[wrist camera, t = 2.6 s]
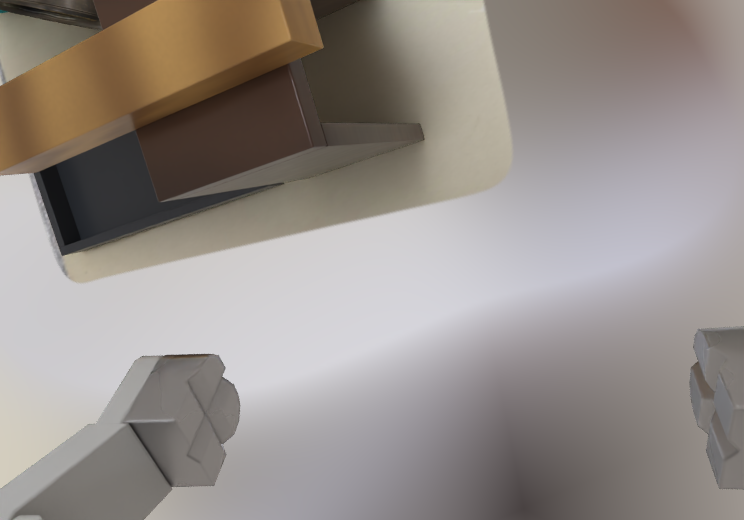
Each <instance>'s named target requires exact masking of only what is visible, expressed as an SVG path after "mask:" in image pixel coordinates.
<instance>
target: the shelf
mask: <svg viewBox="0 0 744 520" xmlns="http://www.w3.org/2000/svg"><path fill="white" fill-rule="evenodd" d="M156 1H157V0H93V2H94V5H95V8H96V11H97V14H98V17H99V21H100V24H101V27H102V30H104V29H106V28H108V27H110V26H112V25H113V24H115V23H117V22H119V21H121V20H123V19H124V18H126V17H128V16H130V15H132V14H134V13H135V12H137V11H139V10H141V9H143V8H145V7H146V6H148V5H150V4H152V3H154V2H156ZM357 1H359V0H310V2H311V6H312V9H313V12H314V16H315V19H316V20H317V19H320V18H322V17H324V16H326V15H328V14H330V13H333V12H335V11H337V10H339V9H341V8H344V7H346V6H348V5H350V4H352V3H354V2H357ZM135 131H136V134H137V137H138V140H139V143H140V146H141V150H142V153H143V156H144V159H145V162H146V165H147V168H148V171H149V174H150V177H151V180H152V183H153V186H154V189H155V193H156V196H157V199H158V201H159V202H165V201H171V200H177V199H184V198H190V197H196V196H202V195H209V194H215V193H221V192H227V191H233V190H239V189H245V188H252V187H258V186H264V185H270V184H276V183H282V182H288V181H295V180H301V179H307V178H311V177H314V176H317V175H320V174H323V173H326V172H329V171H332V170H335V169H338V168H341V167H344V166H347V165H350V164H353V163H356V162H359V161H362V160H365V159H368V158H371V157H374V156H377V155H380V154H383V153H386V152H389V151H392V150H395V149H398V148H401V147H404V146H407V145H410V144H413V143H416V142H419V141H422V140H424V136H423V133H422V129H421V126H420V124H407V123H320V121H319V118H318V114H317V111H316V107H315V104H314V101H313V97H312V94H311V91H310V87H309V84H308V81H307V77H306V74H305V71H304V67H303V64H302V61H301V58H300V59H297V60H295V61H293V62H290V63H288V64H286V65H283V66H281V67H279V68H276V69H274V70H272V71H270V72H267V73H265V74H263V75H260V76H258V77H256V78H253V79H251V80H249V81H247V82H244V83H242V84H240V85H237V86H235V87H233V88H230V89H228V90H226V91H223V92H221V93H219V94H217V95H214V96H212V97H210V98H207V99H205V100H203V101H200V102H198V103H196V104H194V105H191V106H189V107H187V108H184V109H182V110H180V111H177V112H175V113H173V114H170V115H168V116H166V117H164V118H161V119H159V120H157V121H154V122H152V123H150V124H147V125H145V126H143V127H141V128H138V129H136V130H135Z"/></svg>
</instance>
